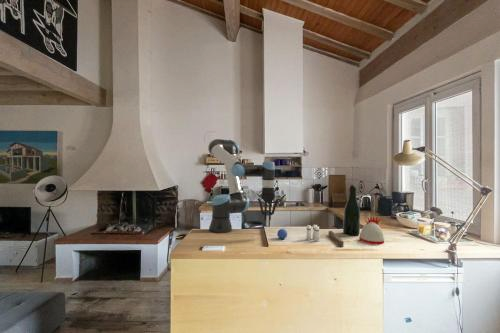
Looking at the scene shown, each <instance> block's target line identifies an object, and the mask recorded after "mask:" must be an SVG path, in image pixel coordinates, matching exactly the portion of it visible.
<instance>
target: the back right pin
mask: <svg viewBox="0 0 500 333" xmlns="http://www.w3.org/2000/svg"><path fill="white" fill-rule="evenodd" d="M319 234H320V226H317V227H315V239H313V240H314V242H316V243H318V242H319V240H320V235H319Z"/></svg>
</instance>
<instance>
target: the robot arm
mask: <svg viewBox="0 0 500 333" xmlns="http://www.w3.org/2000/svg"><path fill="white" fill-rule="evenodd" d="M207 147H208V149H207V150H208V152H209V155H211V156H212V157H214V158H217V159H218V161H221V162H222V163H223V164H224V166H225V167H224V168H225V173H226V179H227V184H228V191H229V193H228V194H225V193H224V194H217V195H215V196H214V197H213V198H212V202H211V204H212V209H211V212H212V213H211V220H210V221H211V222H210V224H209V227H208V230H209V232H211V233H216V234H218V233H219V234H222V233H223V234H226V233H230V232H232V231H233V226H232V222H231V219H230V218H231V217H230V215H231V214H241V213H245V212H247V211H248V210H249V207H250V198H249V197H248V196H247V195H246V194H245V192H244V191H243V189H242V185H241V179H240V178H242V177H243V178H246V177H247V178H252V177H253V178H255V177H256V178H261V186H262V187H261V195H260V197H258V198H257V201H258V203H259V207H260V213H261V214H262V215H264V216H263V217H264V218H263V219H264V221H265V226H266V227H270V224H269V223H270V221H272V215H275V210H276V208H277V203H278V202H279V198H277V197H276V195H275V180H276V179H275V178H276V176H275V173H276V172H275V170H276V165H275V162H274V161H263V162H262V164H245V163H242V162H241V161H240V160H239V159H237V157H238V155H239V153H240V152H239V151H240V146H239V143H238V142H237V141H235V140H232V139H221V138H215V139H213V140H211V141H210V143H209V144H208V146H207ZM262 201H263V202H264V207H263V205H262ZM272 202H273V206H272ZM267 205H268V206H267ZM263 208H264V209H263ZM267 208H268V209H267ZM267 211H268V212H267ZM267 213H268V214H267Z"/></svg>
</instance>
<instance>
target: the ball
mask: <svg viewBox="0 0 500 333" xmlns="http://www.w3.org/2000/svg"><path fill="white" fill-rule="evenodd" d="M287 236H288V232H287V230H286V229H284V228H280V229H278V230H277V237H278V238H279V239H281V240H285V239H286V238H287Z"/></svg>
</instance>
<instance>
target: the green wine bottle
mask: <svg viewBox="0 0 500 333" xmlns="http://www.w3.org/2000/svg"><path fill="white" fill-rule="evenodd" d="M348 189H349V190H348V191H349V192H348V199H347V202H346V204H345V206H344V212H343V225H342V226H343V227H342V232H343V234H344V235H346V234H347V236H360V233H361V227H360V226H361V211H360V206H359V203H358V200H357V187H356V184H350V185H349V188H348Z"/></svg>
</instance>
